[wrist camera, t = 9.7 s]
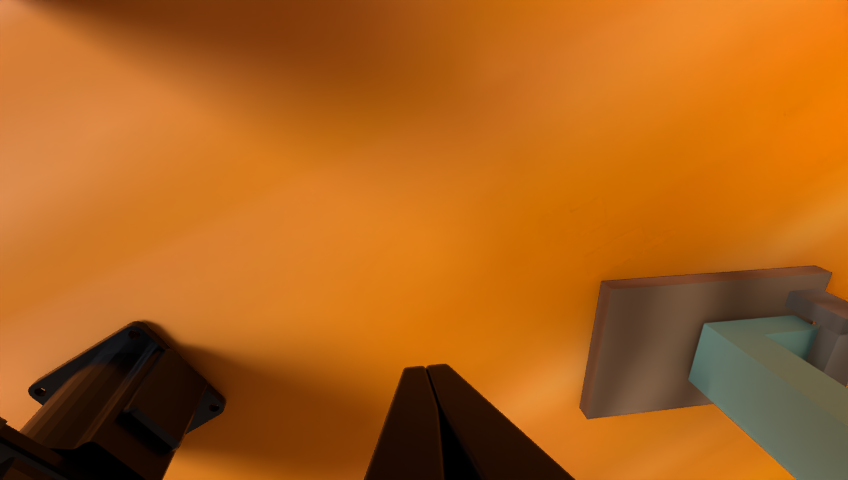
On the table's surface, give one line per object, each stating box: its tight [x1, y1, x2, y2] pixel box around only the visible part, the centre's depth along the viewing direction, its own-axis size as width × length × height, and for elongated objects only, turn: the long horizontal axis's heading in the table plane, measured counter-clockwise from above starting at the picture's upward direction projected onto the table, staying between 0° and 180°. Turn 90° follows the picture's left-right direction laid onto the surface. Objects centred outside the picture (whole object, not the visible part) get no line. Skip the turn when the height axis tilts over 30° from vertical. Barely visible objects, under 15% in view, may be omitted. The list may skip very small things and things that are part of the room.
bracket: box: [579, 266, 848, 419], centre depth 25 cm, size 14×9×4 cm, turn 90°
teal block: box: [688, 315, 848, 480], centre depth 22 cm, size 9×4×9 cm, turn 90°
